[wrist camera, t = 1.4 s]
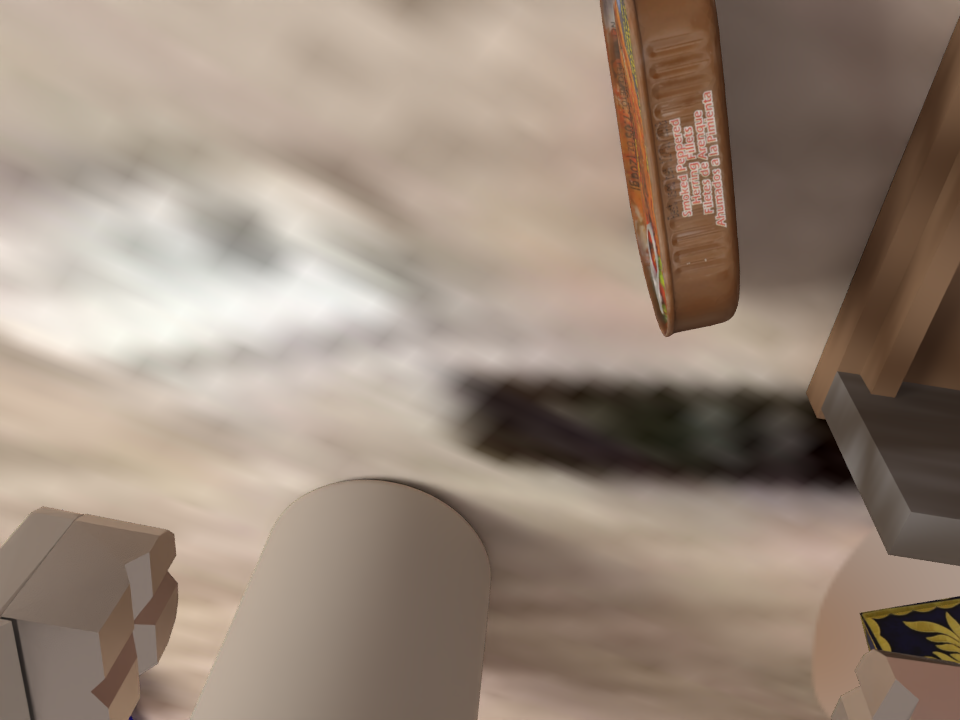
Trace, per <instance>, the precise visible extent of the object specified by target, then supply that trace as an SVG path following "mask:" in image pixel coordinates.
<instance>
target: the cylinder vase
mask: <svg viewBox="0 0 960 720" xmlns="http://www.w3.org/2000/svg"><path fill="white" fill-rule="evenodd" d="M490 588H491V569H490V563H489V559H488V556H487V553H486V550H485V548H484V546H483V544H482V542H481V540H480V538H479V537H478V535H477V533H476V532H475V531H474V529H473V528H472V527H471V526H470V524H469V523H468V522H467V521H466V520H465V519H464V518H463V517H462V516H461V515H460V514H459V513H457V512H456V511H455V510H454V509H452V508H451V507H450V506H448V505H447V504H445V503H444V502H442V501H441V500H439V499H437V498H435V497H433V496H432V495H430V494H427V493H425V492H423V491H420V490H418V489H415V488H412V487H409V486H406V485H402V484H398V483H393V482H387V481H380V480H350V481H343V482H338V483H333V484H329V485H326V486H323V487H320V488H318V489H315V490H313V491H311V492H309V493H307V494H305V495H303V496H302V497H300V498H299V499H297V500H296V501H295V502H293V503H292V504H291V505H290V506H289V507H288V508H287V509H286V510H285V511H284V512H283V513H282V514H281V515H280V517H279V518H278V519H277V521H276V522H275V524H274V526H273V528H272V530H271V532H270V535H269V537H268V539H267V541H266V544H265V546H264V548H263V551H262V553H261V555H260V558H259V560H258V562H257V565H256V567H255V569H254V572H253V574H252V576H251V579H250V581H249V583H248V586H247V588H246V590H245V592H244V595H243V597H242V599H241V602H240V604H239V606H238V609H237V611H236V613H235V616H234V618H233V620H232V623H231V625H230V627H229V630H228V632H227V634H226V636H225V639H224V641H223V643H222V646H221V648H220V650H219V653H218V655H217V657H216V660H215V662H214V664H213V667H212V669H211V671H210V674H209V676H208V678H207V681H206V683H205V685H204V687H203V690H202V692H201V694H200V697H199V699H198V701H197V704H196V706H195V708H194V711H193V713H192V715H191V718H190V720H477V719H478V708H479V698H480V688H481V678H482V668H483V658H484V648H485V638H486V628H487V618H488V608H489V598H490Z"/></svg>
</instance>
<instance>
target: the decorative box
mask: <svg viewBox="0 0 960 720" xmlns="http://www.w3.org/2000/svg"><path fill="white" fill-rule="evenodd" d="M860 617H861V621H862V625H863V629H864V633H865V637H866V641H867V645H868V649H869V651H871V650H872V649H877V650H884V651H890V652H896V653H902V654H909V655H915V656H921V657H927V658H934V659H940V660H946V661H953V662H956V663H960V596H957V597H951V598H945V599H940V600H933V601H927V602H921V603H915V604H909V605H903V606H897V607H891V608H885V609H879V610H873V611H867V612H861V613H860Z"/></svg>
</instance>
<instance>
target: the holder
mask: <svg viewBox="0 0 960 720" xmlns="http://www.w3.org/2000/svg"><path fill="white" fill-rule="evenodd" d="M806 394H807V396H808V399H809V401H810V403H811V405H812V408H813V410H814V412H815V414H816V416H817V418H821V419H826V421H827V423H828V425H829V427H830V429H831V432H832V434H833V436H834V438H835V440H836V442H837V444H838V447H839V449H840V451H841V453H842V455H843V457H844V460H845V462H846V464H847V466H848V468H849V470H850V473H851V475H852V477H853V479H854V481H855V483H856V486H857V488H858V490H859V492H860V494H861V496H862V499H863V501H864V503H865V505H866V507H867V509H868V512H869V514H870V516H871V518H872V520H873V522H874V525H875V527H876V529H877V531H878V533H879V535H880V537H881V540H882V542H883V544H884V546H885V548H886V551H887V553H888V555H894V556H900V557H907V558H913V559H920V560H926V561H932V562H939V563H945V564H951V565H958V566H960V17H959V19H958V22H957V24H956V27H955V29H954V32H953V34H952V37H951V39H950V41H949V44H948V46H947V49H946V51H945V54H944V56H943V59H942V61H941V64H940V66H939V68H938V71H937V73H936V76H935V78H934V81H933V83H932V86H931V88H930V90H929V93H928V95H927V98H926V100H925V103H924V105H923V108H922V110H921V113H920V115H919V117H918V120H917V122H916V125H915V127H914V130H913V132H912V135H911V137H910V140H909V142H908V144H907V147H906V149H905V152H904V154H903V157H902V159H901V162H900V164H899V167H898V169H897V171H896V174H895V176H894V179H893V181H892V184H891V186H890V189H889V191H888V193H887V196H886V198H885V201H884V203H883V206H882V208H881V211H880V213H879V216H878V218H877V220H876V223H875V225H874V228H873V230H872V233H871V235H870V238H869V240H868V243H867V245H866V247H865V250H864V252H863V255H862V257H861V260H860V262H859V265H858V267H857V270H856V272H855V274H854V277H853V279H852V282H851V284H850V287H849V289H848V292H847V294H846V296H845V299H844V301H843V304H842V306H841V309H840V311H839V314H838V316H837V319H836V321H835V323H834V326H833V328H832V331H831V333H830V336H829V338H828V341H827V343H826V346H825V348H824V350H823V353H822V355H821V358H820V360H819V363H818V365H817V368H816V370H815V373H814V375H813V377H812V380H811V382H810V385H809V387H808V390H807V392H806Z"/></svg>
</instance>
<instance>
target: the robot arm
mask: <svg viewBox="0 0 960 720" xmlns="http://www.w3.org/2000/svg"><path fill="white" fill-rule="evenodd" d="M175 557H176V547H175V537H174V533H172V532H170V531H169V530H166V529H161V528H156V527H151V526H146V525H141V524H136V523H130V522H125V521H120V520H115V519H110V518H105V517H100V516H95V515H90V514H85V515H84V514H79V513H74V512H69V511H64V510H59V509H54V508H49V507H44V506H43V507H41V508H39V509H37V510H35V511H33V512H31V513H30V514H29V515H28V516H27V517H26V518H25V519H24V520H23V522H22V523H21V524H20V525H19V526H18V527H17V528H16V530H15V531H14V532H13V533H12V534H11V535H10V537H9V538H8V539H7V540H6V541H5V542H4V544H3V545H2V546H1V547H0V720H128V719H129V717H130V716H131V714H132V712H133V710H134V708H135V706H136V704H137V702H138V700H139V699H140V685H139V675H141V674H142V673H144V672H146V671H147V670H149V669H150V668H152V667H153V666H155V665H157V664H158V662H159V660H160V658H161V656H162V654H163V652H164V650H165V648H166V646H167V644H168V642H169V638H170V635H171V632H172V629H173V626H174V622H175V619H176V613H177V606H178V583H177V582H176V581H175V579H174V578H173V577H172V576H171V575H170V573H169V572H168V569H169V567H170V565H171V564H172V562H173V560H174V558H175ZM855 673H856V675H857V678H858V681H859V684H860V686H859V687H857V688H855V689H853V690H851V691H849V692H848V693H846V694H844V695H842V696H841V697H840V699H839V701H838V703H837V705H836V707H835V709H834V711H833V713H832V715H831V720H960V663H956V662H953V661H946V660H940V659H934V658H927V657H921V656H915V655H909V654H902V653H896V652H890V651H884V650H877V649H872V650H871V651H869V652H868V653H866V654H865V655H863V657H862V659H861V660H860V662H859V664H858V666H857V667H856V669H855Z"/></svg>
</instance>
